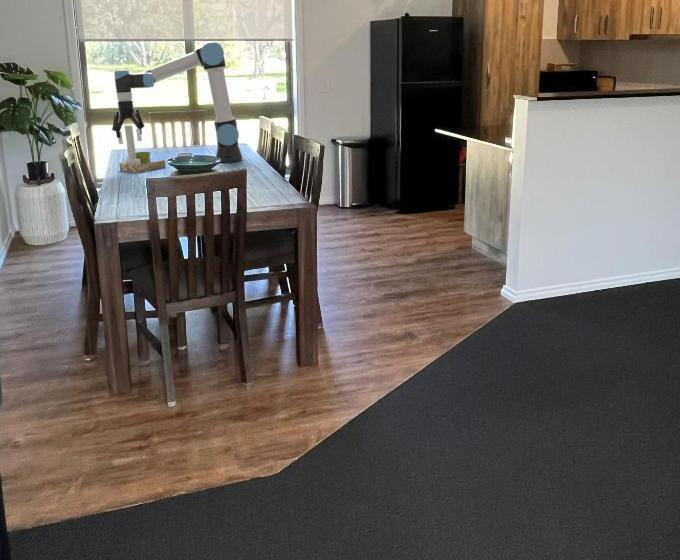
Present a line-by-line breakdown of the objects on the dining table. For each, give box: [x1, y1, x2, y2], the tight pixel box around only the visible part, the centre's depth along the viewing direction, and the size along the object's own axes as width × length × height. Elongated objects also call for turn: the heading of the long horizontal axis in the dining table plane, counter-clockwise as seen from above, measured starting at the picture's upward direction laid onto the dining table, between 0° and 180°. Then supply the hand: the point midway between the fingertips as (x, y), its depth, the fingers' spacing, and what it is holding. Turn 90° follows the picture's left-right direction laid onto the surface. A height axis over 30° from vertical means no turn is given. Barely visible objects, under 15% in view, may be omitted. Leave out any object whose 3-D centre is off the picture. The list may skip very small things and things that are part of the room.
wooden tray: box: [118, 159, 167, 173], centre depth 402 cm, size 15×19×4 cm
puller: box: [124, 124, 141, 165], centre depth 395 cm, size 11×2×24 cm, turn 49°
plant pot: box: [135, 151, 152, 164], centre depth 401 cm, size 9×9×9 cm
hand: (130, 142), depth 394 cm, fingers open, 11 cm apart
